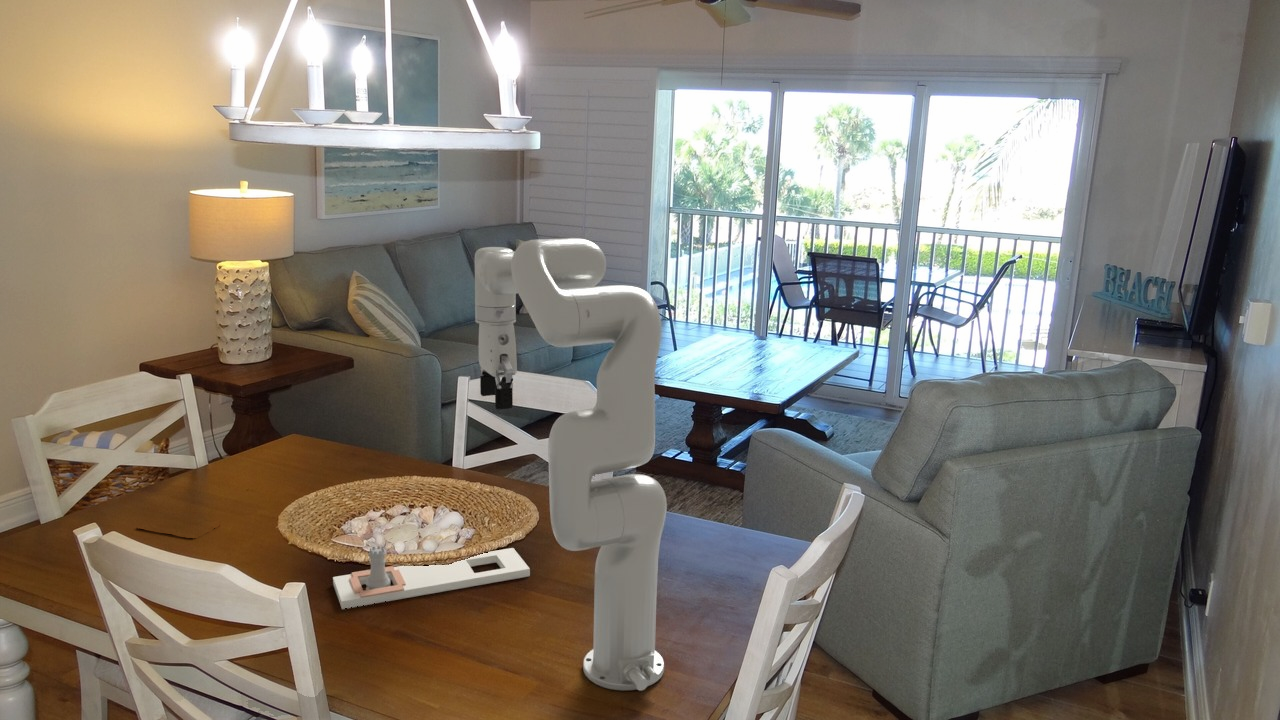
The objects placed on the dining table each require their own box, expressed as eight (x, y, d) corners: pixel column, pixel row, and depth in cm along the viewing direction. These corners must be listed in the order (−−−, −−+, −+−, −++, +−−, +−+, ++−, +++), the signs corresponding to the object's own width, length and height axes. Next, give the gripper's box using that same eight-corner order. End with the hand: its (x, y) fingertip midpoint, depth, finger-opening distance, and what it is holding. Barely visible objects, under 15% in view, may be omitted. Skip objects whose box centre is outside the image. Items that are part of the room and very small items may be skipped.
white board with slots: (529, 576, 182) (529, 567, 182) (341, 609, 168) (341, 599, 167) (513, 554, 191) (513, 546, 190) (333, 584, 176) (332, 575, 176)
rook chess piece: (384, 597, 172) (383, 555, 171) (361, 594, 173) (359, 552, 171) (395, 586, 177) (394, 545, 175) (372, 583, 177) (371, 542, 176)
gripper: (529, 321, 176) (529, 412, 180) (501, 304, 192) (501, 388, 195) (489, 323, 173) (490, 416, 177) (463, 306, 188) (464, 392, 192)
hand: (496, 401), depth 186 cm, fingers open, 9 cm apart
